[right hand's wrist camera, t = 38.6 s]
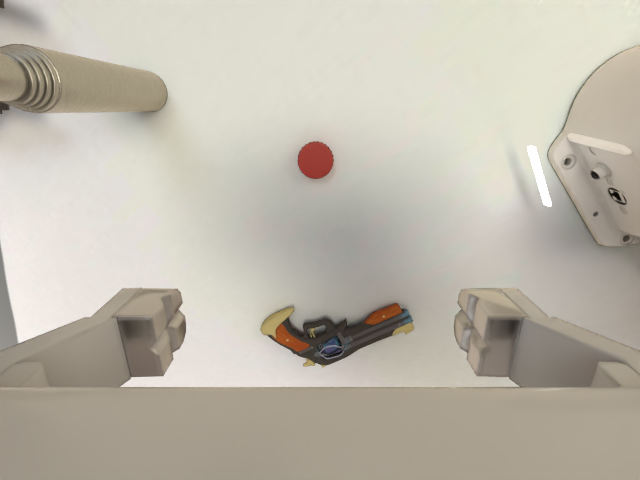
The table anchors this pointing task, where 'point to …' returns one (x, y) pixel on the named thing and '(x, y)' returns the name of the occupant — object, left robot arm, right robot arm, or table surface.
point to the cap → (315, 160)
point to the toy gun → (335, 334)
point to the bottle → (74, 83)
